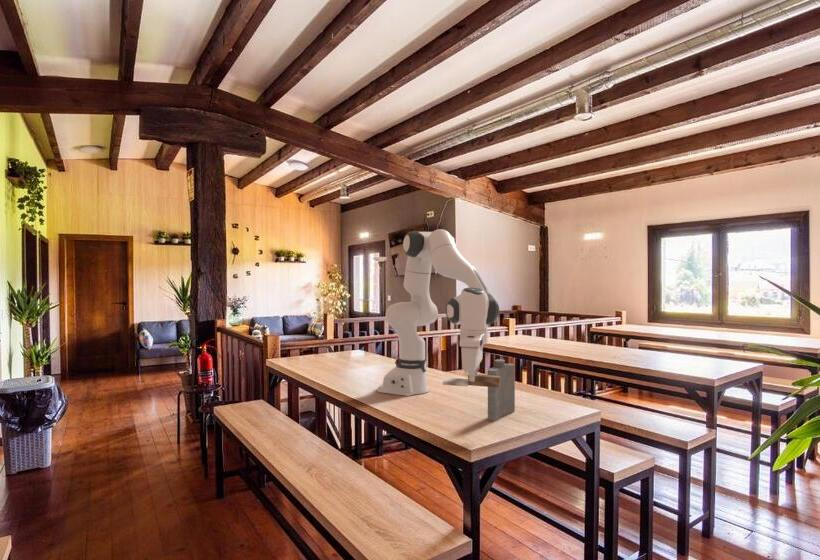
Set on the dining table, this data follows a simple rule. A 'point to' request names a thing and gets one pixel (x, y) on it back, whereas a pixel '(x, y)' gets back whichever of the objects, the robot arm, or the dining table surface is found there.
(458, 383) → the spatula
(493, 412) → the hip flask
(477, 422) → the dining table surface
